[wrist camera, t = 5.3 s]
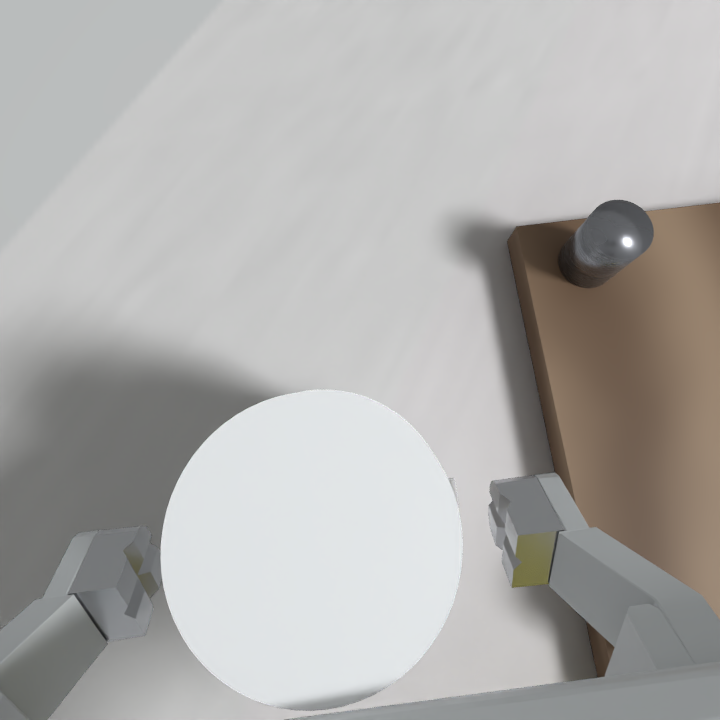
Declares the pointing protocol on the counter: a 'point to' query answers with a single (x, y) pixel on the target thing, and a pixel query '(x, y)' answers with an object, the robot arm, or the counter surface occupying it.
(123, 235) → the counter surface
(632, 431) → the pin board
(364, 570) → the recessed downlight
